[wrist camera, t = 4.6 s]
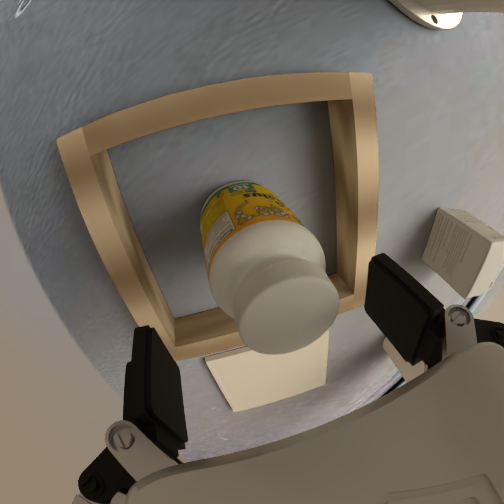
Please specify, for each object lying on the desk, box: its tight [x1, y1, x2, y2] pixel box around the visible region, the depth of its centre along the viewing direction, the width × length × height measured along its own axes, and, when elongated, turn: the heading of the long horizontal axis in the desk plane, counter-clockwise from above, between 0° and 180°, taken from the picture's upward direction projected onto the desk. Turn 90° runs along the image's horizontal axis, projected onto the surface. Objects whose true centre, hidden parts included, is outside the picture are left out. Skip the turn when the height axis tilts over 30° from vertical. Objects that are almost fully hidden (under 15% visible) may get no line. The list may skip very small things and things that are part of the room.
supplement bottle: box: [200, 181, 340, 355], centre depth 14 cm, size 5×5×10 cm
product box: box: [422, 208, 504, 299], centre depth 21 cm, size 6×6×7 cm
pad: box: [205, 329, 329, 412], centre depth 27 cm, size 12×12×1 cm
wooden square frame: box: [56, 72, 379, 361], centre depth 16 cm, size 17×17×3 cm
